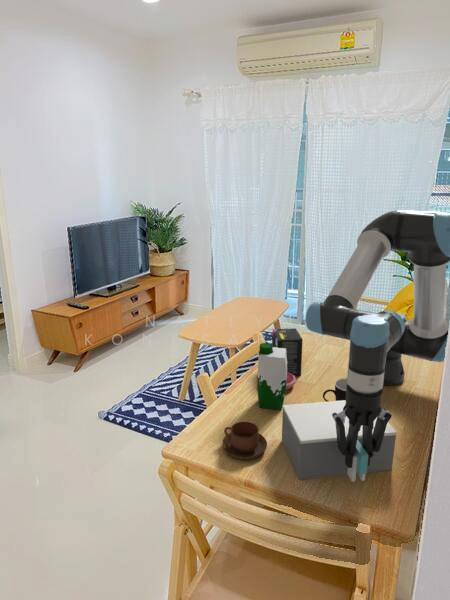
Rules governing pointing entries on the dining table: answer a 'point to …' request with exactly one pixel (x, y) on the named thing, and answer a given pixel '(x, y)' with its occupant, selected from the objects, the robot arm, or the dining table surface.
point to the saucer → (290, 380)
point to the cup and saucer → (244, 441)
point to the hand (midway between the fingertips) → (355, 477)
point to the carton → (329, 455)
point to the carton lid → (326, 426)
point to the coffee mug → (338, 390)
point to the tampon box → (289, 348)
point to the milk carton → (272, 376)
